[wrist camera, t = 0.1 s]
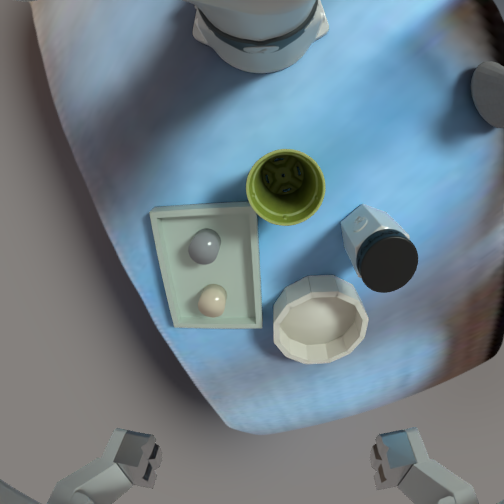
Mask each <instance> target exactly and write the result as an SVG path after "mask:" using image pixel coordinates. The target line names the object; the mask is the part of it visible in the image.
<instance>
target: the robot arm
mask: <svg viewBox="0 0 504 504" xmlns="http://www.w3.org/2000/svg"><path fill="white" fill-rule="evenodd" d="M16 1H36V0H16ZM182 1H186V2H189V3H192V4H195V9H197V11H196V16H195V21H194V26H193V36H194V38H195V39H196V40H197V41H199V42H201V43H203V44H206V45H208V46H210V47H211V48H213V49H214V50H215V52H216V53H217V54H218V55H219V56H220V57H221V58H222V59H223V60H224V61H225V62H227V63H228V64H230V65H231V66H233V67H235V68H237V69H240V70H243V71H247V72H252V73H270V72H275V71H279V70H282V69H285V68H287V67H289V66H291V65H292V64H294V63H295V62H297V61H298V60H299V59H300V58H301V57H302V56H303V55H304V54H305V52H306V51H307V50H308V48H309V47H310V45H311V44H312V43H313V42H314V41H316V40H318V39H319V38H321V37H323V36H324V35H326V34H327V32H328V30H329V25H328V21H327V18H326V15H325V12H324V10H323V7H322V4H321V1H320V0H182ZM375 440H376V444H375V445H373V447H372V449H371V454H370V460H371V466H372V468H373V469H375V470H376V471H377V472H376V474H375V475H374V480H375V484H376V489H377V490H380V489H385V488H391V487H396V486H398V488H399V489H400V490H401V491H402V492H403V493H404V494H405V495H406V496H407V497H408V498H409V499H410V500H411V501H412V502H413V503H414V504H479V502H478V499H477V497H476V494H475V491H474V488H473V486H472V485H470V484H469V483H467V482H466V481H464V480H463V479H461V478H460V477H458V476H457V475H455V474H454V473H452V472H451V471H449V470H448V469H447V468H445V467H444V466H442V465H441V464H439V463H438V462H436V461H435V460H434V459H431V460H430V459H429V457H428V455H427V451H426V449H425V446H424V443H423V441H422V438H421V436H420V433H419V431H418V429H417V428H416V427H415V428H414V427H413V428H409V429H404V430H399V431H394V432H390V433H384V434H379V435H378V436H377V437H376V439H375ZM155 442H156V438H155V437H154V435H151V434H145V433H139V432H134V431H130V430H125V429H120V428H116V429H115V430H114V431H113V434H112V436H111V438H110V440H109V442H108V444H107V446H106V448H105V451H104V453H103V455H102V457H101V458H97V459H95V460H94V461H92V462H90V463H89V464H87V465H85V466H84V467H82V468H81V469H79V470H77V471H76V472H74V473H72V474H71V475H69V476H67V477H66V478H64V479H62V480H60V481H59V482H57V484H56V486H55V488H54V490H53V492H52V494H51V496H50V498H49V500H48V502H47V504H112V503H114V502H115V501H116V500H117V499H118V498H119V497H121V496H122V495H123V494H124V493H125V492H127V491H128V490H129V489H130V488H131V487H132V486H133V485H138V486H143V487H147V488H152V489H153V487H154V484H155V480H156V477H157V475H156V472H155V470H156V469H157V468H159V467H160V464H161V460H162V452H161V448H160V446H159V445H157V444H156V443H155ZM0 504H41V503H40V502H37V501H36V500H34V499H32V498H30V497H29V496H27V495H25V494H23V493H22V492H20V491H18V490H16V489H15V488H13V487H12V486H10V485H8V484H7V483H6V482H4V481H3V480H1V479H0ZM497 504H504V500H502V501H501V502H499V503H497Z"/></svg>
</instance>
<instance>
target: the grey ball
mask: <svg viewBox="0 0 504 504" xmlns="http://www.w3.org/2000/svg"><path fill="white" fill-rule="evenodd" d="M220 246H221V238H220V236H219V234H218V233H217V232H216V231H214V230H212V229H208V228H204V229H201V230H199V231H198V232H197V233H196V234H195V236H194V237H193V239H192V241H191V243H190V245H189V248H188V252H189V255H190V257H191V259H192V260H193V261H195V262H196V263H198V264H202V265H207V264H210V263H212V262H213V261H215V259H216V258H217V255H218V252H219V249H220Z"/></svg>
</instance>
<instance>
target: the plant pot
mask: <svg viewBox="0 0 504 504" xmlns="http://www.w3.org/2000/svg"><path fill="white" fill-rule="evenodd" d="M277 158H284V160H279V161H276V162H275V159H277ZM297 167H299V170H300V172H301V175H300V176H299V175H298V170H297ZM282 174H285V176H284V177H282ZM266 175H268V180H269V182H270V183H267V181H266V177H265V176H266ZM289 188H292V189H291V190H289V191H287V192H284V191H282V190H283V189H289ZM246 193H247V198H248V201H249V203H250V205H251V207H252V208H253V210H254V211H255V212H256V213H257V214H258V215H259V216H260V217H261V218H263V219H264V220H266V221H268V222H270V223H272V224H276V225H282V226H289V225H295V224H298V223H301V222H303V221H305V220H307V219H308V218H310V217H311V216H312V215H314V213H315V212H316V211H317V210H318V209H319V207H320V206H321V204H322V201H323V199H324V195H325V180H324V176H323V173H322V171H321V169H320V167H319V166H318V164H317V163H316V162H315V161H314V160H313V159H312V158H311V157H309V156H308V155H306V154H305V153H303V152H300V151H297V150H292V149H280V150H275V151H272V152H270V153H268V154H266V155H264V156H263V157H261V158H260V159H259V160H258V161H257V162H256V163H255V164H254V165H253V167H252V168H251V170H250V172H249V174H248V177H247V181H246Z"/></svg>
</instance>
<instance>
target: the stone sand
mask: <svg viewBox="0 0 504 504" xmlns="http://www.w3.org/2000/svg"><path fill="white" fill-rule="evenodd" d="M226 300H227V292H226V290H225V289H224V288H223V287H222V286H220V285H218V284H209V285H207V286H205V287H204V288H203V290H202V293H201V296H200V299H199V302H198V309H199V311H200V312H201V313H202V314H203V315H205V316H207V317H211V318H215V317H219V316H220V315H222V314H223V312H224V309H225V305H226Z"/></svg>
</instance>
